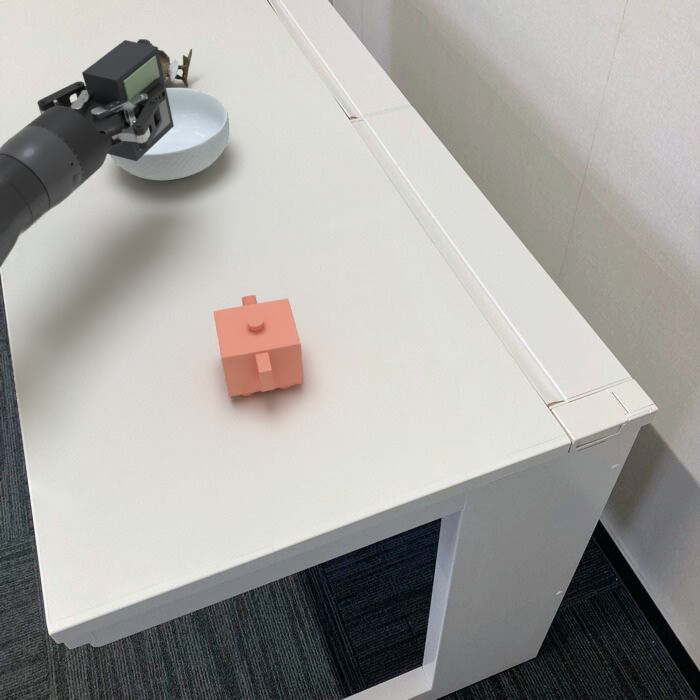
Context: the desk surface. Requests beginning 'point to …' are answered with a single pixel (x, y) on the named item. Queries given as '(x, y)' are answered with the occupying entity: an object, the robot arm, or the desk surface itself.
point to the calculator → (128, 86)
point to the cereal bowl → (184, 138)
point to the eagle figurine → (172, 64)
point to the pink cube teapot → (259, 346)
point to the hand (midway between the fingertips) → (142, 81)
